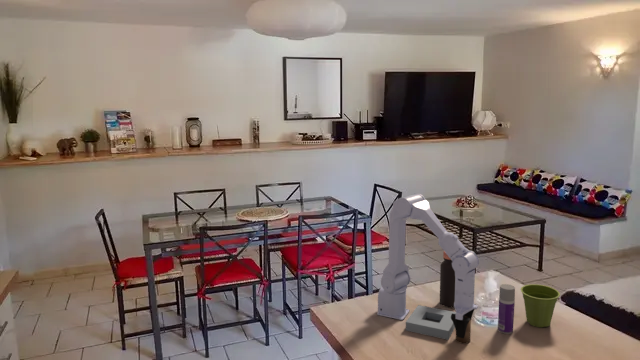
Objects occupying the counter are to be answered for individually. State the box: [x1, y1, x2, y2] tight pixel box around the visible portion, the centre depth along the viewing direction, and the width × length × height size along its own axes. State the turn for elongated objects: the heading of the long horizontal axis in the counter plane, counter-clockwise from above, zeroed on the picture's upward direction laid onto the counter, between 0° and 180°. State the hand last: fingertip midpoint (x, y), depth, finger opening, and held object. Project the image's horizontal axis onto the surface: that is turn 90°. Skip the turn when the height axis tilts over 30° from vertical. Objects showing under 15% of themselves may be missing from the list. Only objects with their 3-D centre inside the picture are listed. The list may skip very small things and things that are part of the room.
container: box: [497, 283, 516, 335], centre depth 155 cm, size 5×5×15 cm
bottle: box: [439, 251, 455, 308], centre depth 174 cm, size 7×7×20 cm
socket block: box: [405, 304, 456, 341], centre depth 160 cm, size 14×14×3 cm
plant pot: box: [520, 283, 561, 328], centre depth 159 cm, size 12×12×11 cm
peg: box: [455, 316, 472, 344], centre depth 150 cm, size 4×4×7 cm
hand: (463, 331), depth 150 cm, fingers open, 7 cm apart
